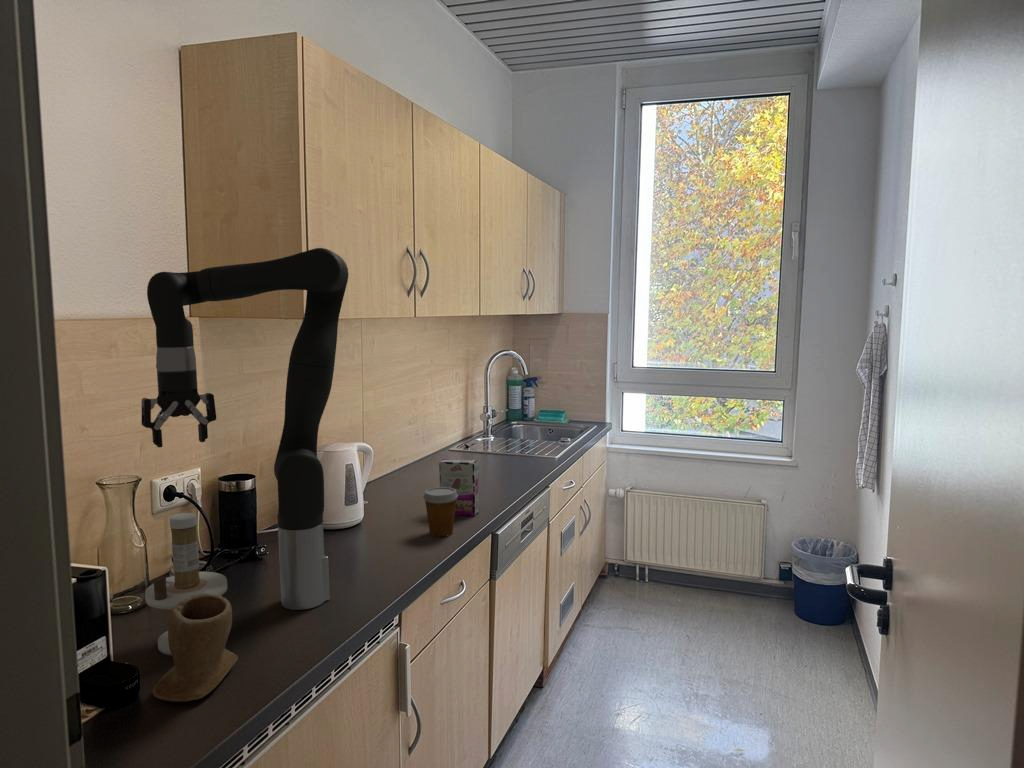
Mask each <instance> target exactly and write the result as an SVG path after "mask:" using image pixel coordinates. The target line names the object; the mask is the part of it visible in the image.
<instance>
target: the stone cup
mask: <svg viewBox="0 0 1024 768" xmlns="http://www.w3.org/2000/svg"><path fill="white" fill-rule="evenodd" d="M232 608H233V607H232V605H231V602H230V601H229V600H228V599H227V598H226V597H224V596H223V595H222V596H219V595H215V594H198V595H194V596H190V597H188V598H186V599H184V600H182V601H181V602H179V603H178V604H177V605H176V607H175V608H174V609H172V612H171V614H170V616H169V621H168V630H167V631H168V643H169V649H170V652H171V654H172V655H171V657H172V659H173V664H174V666H173V667H171V668H170V669H169V670H168V671H167V672H166V673H165V674H164V675H163V676H162V677H161V678H160V679H159V681H158V682H157V683H156V684H155V686H154V688H153V689H152V695H153V696H154V697H155V698H157V699H158V700H163V701H167V702H175V703H176V702H181V703H182V702H184V703H185V702H190V701H196V700H200V699H203V698H204V697H205V696H207V695H208V694H210V693H211V692H212V691H214V689H216V687H217V686H218V685H220V683H221V682H222V680H223V679H224V678H225V676H226V675H227V674H228V673H229V672H230V671H231V669H232V668H233V667H234V665H235V664H236V663H237V661H238V659H239V657H238V655H237V654H235V653H234V652H231V651H230V650H229V649H227V648H226V644H227V642H228V638H229V636H230V632H231V629H232V624H233V609H232Z"/></svg>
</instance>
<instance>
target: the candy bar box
mask: <svg viewBox="0 0 1024 768" xmlns="http://www.w3.org/2000/svg"><path fill="white" fill-rule="evenodd" d="M438 464H439V465H438V466H439V487H447V488H453V489H455V490H456V492H457V494H458V497H457V499H456V507H455V516H462V517H463V516H465V517H466V516H467V517H475V516H476V515H478V514H479V513H480V493H479V492H480V490H479V489H480V486H479V484H480V483H479V481H480V480H479V477H480V475H479V460H478V459H462V458H461V459H458V458H456V459H455V458H443V459H442V460H440V461H439V463H438Z"/></svg>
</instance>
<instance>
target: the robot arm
mask: <svg viewBox="0 0 1024 768" xmlns="http://www.w3.org/2000/svg"><path fill="white" fill-rule="evenodd" d="M348 281H349V269H348V265H347V263H346V262H345V260H344V258H342V257H341V256H340V255H339V254H337V253H335V252H334V251H332V250H331V249H327V248H323V247H316V248H311V249H308V250H305V251H302V252H298V253H295V254H292V255H289V256H285V257H282V258H281V257H280V258H275V259H271V260H266V261H260V262H250V263H248V262H247V263H239V264H230V265H228V264H227V265H222V266H221V265H220V266H213V267H212V266H211V267H206V268H203V269H201V270H198V271H197V270H196V271H188V272H187V271H186V272H185V271H184V272H173V271H160V272H157V273H155V274H153V276H151V277H150V279H149V281H148V283H147V289H146V296H147V303H148V306H149V309H150V314H151V316H152V317H151V318H152V320H153V323H154V325H155V339H156V342H155V343H156V357H155V358H156V359H155V360H156V361H155V363H156V364H155V368H156V375H157V377H156V378H157V379H156V380H157V392H158V393H157V394H158V395H157V397H156V398H147V397H142V399H141V426H143V427H144V428H146V429H151V431H152V433H151V434H152V443H153V445H155V446H156V448H163V446H164V445H163V433H162V429H161V428H162V426H163V425H164V423H166V422H167V420H168V419H169V418H170V417H172V418H178V417H181V416H182V417H189V416H190V415H192V416H193V417H194V418H195V420H196V421H197V422H198V425H197V429H198V431H197V432H198V441H199V442H200V443H205V442H206V440H207V439H209V438H208V437H209V433H208V430H209V429H208V425H209V423H211V422H214V421H216V420H217V413H216V412H217V410H216V403H215V396H214V394H213V393H210V392H206V393H203V394H199V391H198V377H197V376H198V374H197V373H198V372H197V371H198V370H197V359H196V352H195V347H194V346H195V345H194V329H193V324H192V322H191V321H190V320H189V319H188V318H187V317H186V314H185V309H184V306H191V305H192V306H193V305H196V304H202V303H208V302H221V301H222V302H223V301H231V300H237V299H245V298H249V297H253V296H258V295H261V294H266V293H269V292H270V293H271V292H274V291H285V290H286V291H287V290H291V291H292V290H293V291H294V290H298V291H306V296H305V298H306V299H305V308H304V309H305V310H304V314H303V319H302V323H301V325H300V327H299V329H298V331H297V334H296V336H295V338H294V341H293V345H292V348H291V349H290V350H291V351H290V355H289V361H288V367H287V374H286V375H287V376H286V384H285V385H286V387H285V396H284V397H285V399H284V400H285V401H284V420H283V428H282V433H281V437H280V440H279V446H278V449H277V453H276V456H275V460H274V467H273V470H274V471H273V472H274V473H273V474H274V476H275V479H276V481H277V498H278V500H277V501H278V502H277V503H278V504H277V505H278V511H277V515H276V516H277V536H278V554H279V555H278V557H279V579H280V580H279V581H280V584H279V585H280V599H281V600H280V601H281V602H280V603H281V606H282V607H283V608H284V609H288V610H295V611H300V610H308V609H312V608H317V607H318V606H321V605H322V604H323V603H324V602H326V601H329V600H330V599H331V597H330V571H329V557H328V556H327V555H326V554H325V539H324V512H325V476H324V469H323V464H322V462H321V460H319V458H318V452H317V451H318V439H319V438H318V434H319V427H320V423H321V419H322V417H323V414H324V412H325V409H326V407H327V403H328V400H329V398H330V393H331V390H332V385H333V380H334V379H333V378H334V372H335V363H336V353H337V343H338V332H339V331H338V328H339V320H340V313H341V309H342V305H343V301H344V297H345V294H346V289H347V285H348ZM200 401H201V402H202V403H203V404H204V405H205V411H206V416H204V415H203V414H202V412H201V411H200V410H199V409H198V408H197V405H198V404H199V403H200ZM156 404H157V406H159V408H160V411H159V412H158V414H156V418H154V420H153V422H152V409H154V408H155V405H156Z"/></svg>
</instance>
